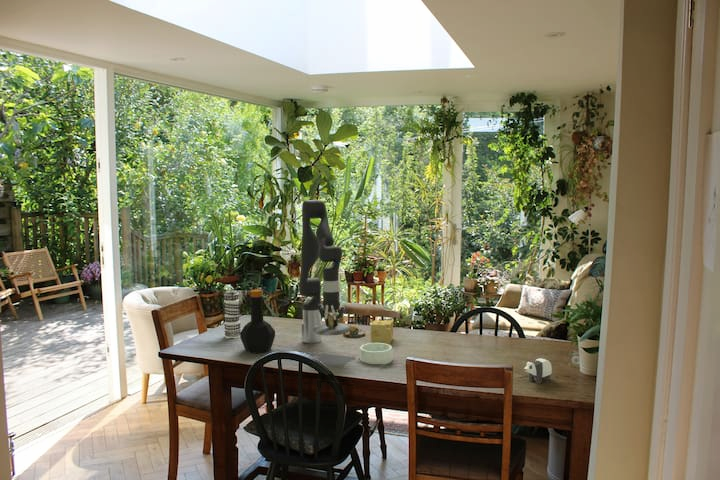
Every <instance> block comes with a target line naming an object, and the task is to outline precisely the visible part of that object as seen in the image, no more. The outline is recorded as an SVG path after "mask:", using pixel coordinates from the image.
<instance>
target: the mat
mask: <svg viewBox="0 0 720 480" xmlns="http://www.w3.org/2000/svg"><path fill="white" fill-rule="evenodd" d="M355 358H356V357H355V356H351V355H349V356H347V355H340V354H330V353H323V354H322V355H320V356H318V357H317V358H316V359H318V360H319V361H321V362H322V363H323V364H324V365H326V366H325V367H329V368H330V367H332V368H339V369H342V368H344V367H345V366H346V365H348V364H349V363H350V362H351V361H353V360H354V359H355Z"/></svg>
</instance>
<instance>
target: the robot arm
mask: <svg viewBox="0 0 720 480" xmlns="http://www.w3.org/2000/svg"><path fill="white" fill-rule="evenodd" d="M301 217H302V220H301V223H302V224H301V225H302V227H301V228H302V229H301V230H302V233H301V245H300V246H301V251H300V253H301V254H300V256H301V257H300V258H301V259H300V273H299V282H298V290H299V292H298V293H299V295H300V296H302V297H311V298H310V299H308V300H307V301H304V302H303V303H302V323H301V342H303V343H306V344H312V343H313V344H317V343H321V342H322V335H320V334H316V333H314V332H313V328H314V327H315V326H317V325H320V324H322V318H324V319H325V321H324V322H325V323H324V324H326V326H327V327H328V315H330V314H331V313H332V314H333V317H334V328H336V327H337V326H338V323H339V319H341V318H342V317H343V315H344V313H345V311H346V307H347V306H345V305H342V304H341V301H340V289H341V288H340V282H339V273H340V271H339V270H340V266H341V262H342V257H343V251H342V248H341V247H340V246H339V245H334V244H335V241H334V237H333V235H332V232H331V228H330V223H329V218H328V212H327V207H326V204H325V202H324V201H323V200H322V199H306V200H304V201H303V202H302V205H301ZM312 219H313V220H315V219H316V220H317V219H318V220H319V219H320V222H319V224H318V226H317V227H316V230H315V232H314V230H313V229H312V227H311V223H310V222H311V221H310V220H312ZM318 259H319V260H320V261H321V263H322V262H323V263H332V264H331V265H329V266H326V267H324V268H323V269H322V283H321V280H320V278H319V277H308V276H309V274H310V272H311V270H312V268H313V267H314V265H315V264H316V263H317V261H318ZM321 284H322V285H321ZM321 293H322V294H321ZM321 295H322V296H321ZM321 297H322V299H321ZM322 300H323V301H322ZM321 301H322V303H321ZM338 309H339V311H338Z"/></svg>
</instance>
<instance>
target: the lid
mask: <svg viewBox="0 0 720 480" xmlns="http://www.w3.org/2000/svg"><path fill="white" fill-rule="evenodd" d="M349 331H350V325H348V324H345V323H339V322H338V326H337V327H336V328H334V317H333V314H331V313H330V315H328V327H327V326H326V324H325V323H321V324H320V325H317V326H315V327H314V328H313V332H314V333H316V334H320V335H321V336H339V335H343V334H345V333H348V332H349Z"/></svg>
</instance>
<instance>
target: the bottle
mask: <svg viewBox="0 0 720 480" xmlns="http://www.w3.org/2000/svg"><path fill="white" fill-rule="evenodd" d="M249 291H250V296H249V303H250V304H251V307H250V321H249V322H247V323H246V324H245V325H244V326H243V328H242V329H241V331H240V332H241V333H240V337H239V338H240V341H241V343H242V345H243V347H244V350H245V351H246V350H247V351H246V352H248V351H249V352H256V353H255V354H261V353H260V352H262V353H267V352H269V351H270V350H271V349H272V348H273V347H272V346H273V343H274V342H275V338H276V331H275V329H274V328H273V326H272V324H270V323H269V322H267V321H266V320H264V309H263V304H262V303H264V296H262V295H263V290H262V289H251V290H249ZM268 350H269V351H268ZM266 351H267V352H266ZM249 352H248V353H249Z"/></svg>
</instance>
